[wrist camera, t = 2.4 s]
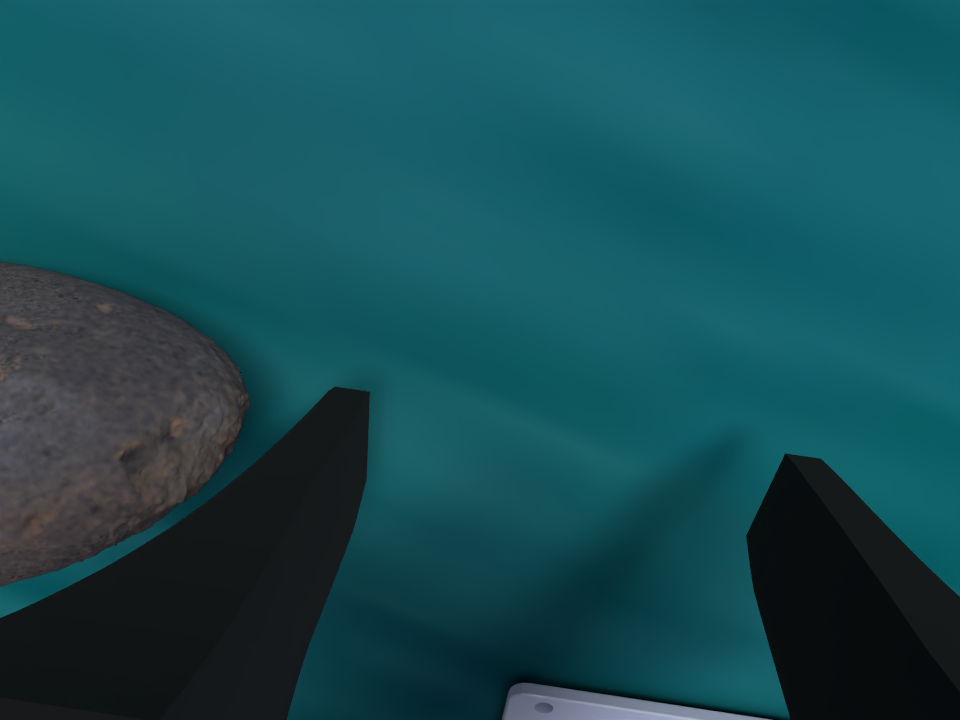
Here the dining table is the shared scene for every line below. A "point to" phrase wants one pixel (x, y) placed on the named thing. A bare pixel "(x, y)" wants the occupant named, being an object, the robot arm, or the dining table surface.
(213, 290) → the dining table surface
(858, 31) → the dining table surface
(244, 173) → the dining table surface
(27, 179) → the dining table surface
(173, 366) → the perforated stone tool
